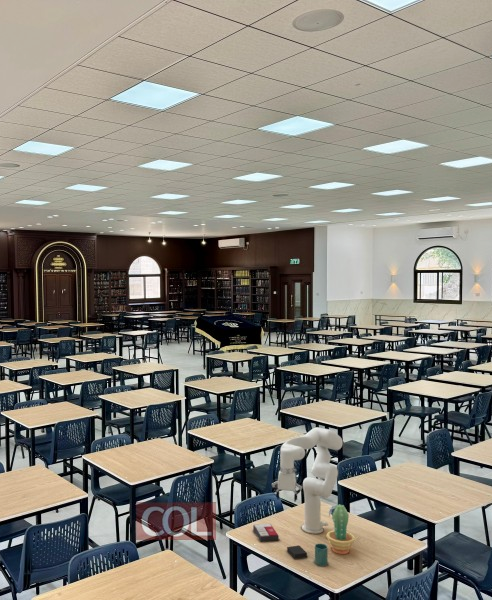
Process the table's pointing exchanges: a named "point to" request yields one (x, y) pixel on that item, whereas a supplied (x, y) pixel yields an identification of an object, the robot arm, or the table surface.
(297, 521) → the table surface
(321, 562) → the cup
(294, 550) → the black box
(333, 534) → the potted cactus
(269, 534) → the calculator
